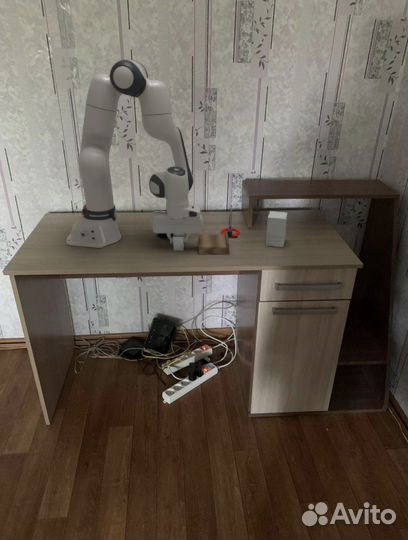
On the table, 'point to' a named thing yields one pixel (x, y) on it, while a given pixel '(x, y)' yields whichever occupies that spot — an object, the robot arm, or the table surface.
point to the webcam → (164, 235)
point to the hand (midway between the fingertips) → (178, 242)
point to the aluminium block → (178, 241)
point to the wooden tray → (214, 244)
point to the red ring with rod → (230, 227)
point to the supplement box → (276, 229)
